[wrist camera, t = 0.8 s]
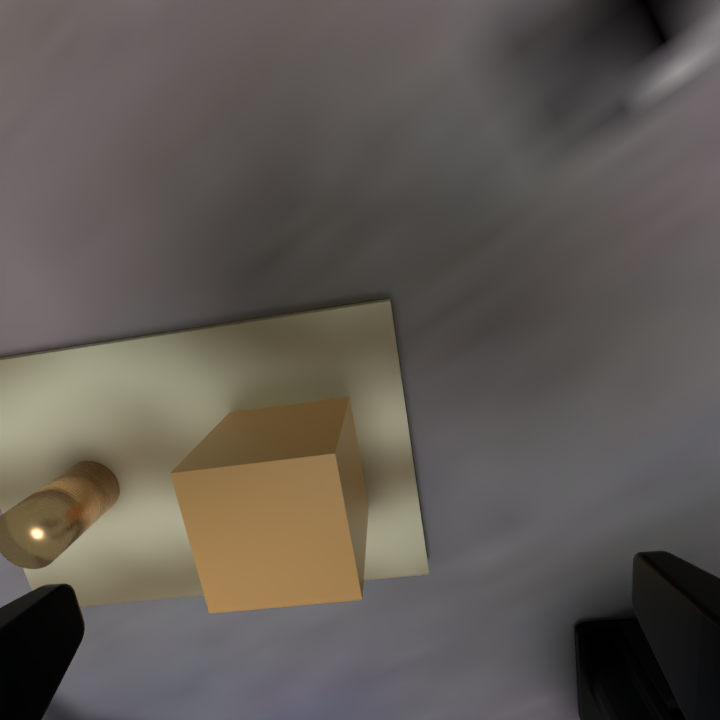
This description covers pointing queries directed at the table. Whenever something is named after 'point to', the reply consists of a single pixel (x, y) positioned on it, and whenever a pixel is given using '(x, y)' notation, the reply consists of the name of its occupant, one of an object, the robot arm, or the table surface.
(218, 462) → the tan wooden cube
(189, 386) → the birch board
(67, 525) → the copper post
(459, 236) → the table surface
